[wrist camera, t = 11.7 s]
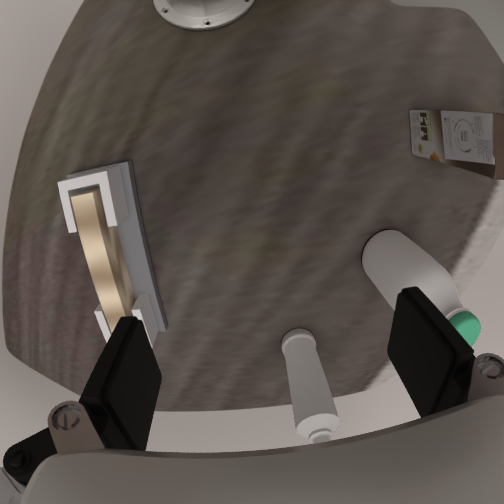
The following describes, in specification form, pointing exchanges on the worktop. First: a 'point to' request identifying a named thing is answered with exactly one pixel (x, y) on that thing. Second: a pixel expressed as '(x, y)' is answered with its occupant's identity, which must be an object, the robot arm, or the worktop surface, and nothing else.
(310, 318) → the worktop surface
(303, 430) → the bottle
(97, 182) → the grey holder stand
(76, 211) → the slat
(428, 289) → the milk bottle
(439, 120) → the coffee box
